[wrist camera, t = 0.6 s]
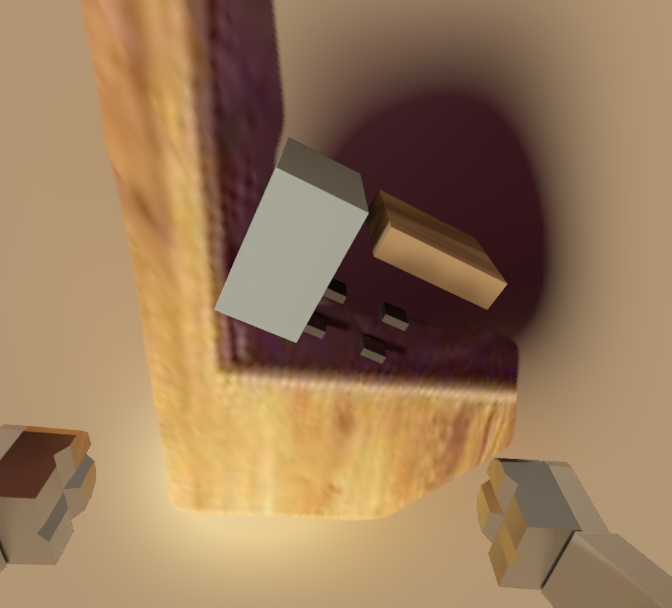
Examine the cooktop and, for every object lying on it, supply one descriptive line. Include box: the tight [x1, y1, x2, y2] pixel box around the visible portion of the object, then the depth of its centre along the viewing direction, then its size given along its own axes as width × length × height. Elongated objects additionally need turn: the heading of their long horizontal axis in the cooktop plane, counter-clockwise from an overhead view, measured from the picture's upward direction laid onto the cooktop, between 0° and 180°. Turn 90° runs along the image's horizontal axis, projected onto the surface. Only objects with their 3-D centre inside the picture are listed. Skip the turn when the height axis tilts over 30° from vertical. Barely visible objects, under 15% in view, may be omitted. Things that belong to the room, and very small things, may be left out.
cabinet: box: [214, 138, 369, 343], centre depth 45 cm, size 14×8×12 cm, turn 153°
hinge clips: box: [303, 278, 409, 363], centre depth 55 cm, size 6×11×3 cm, turn 63°
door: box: [366, 189, 507, 309], centre depth 46 cm, size 4×12×11 cm, turn 63°
